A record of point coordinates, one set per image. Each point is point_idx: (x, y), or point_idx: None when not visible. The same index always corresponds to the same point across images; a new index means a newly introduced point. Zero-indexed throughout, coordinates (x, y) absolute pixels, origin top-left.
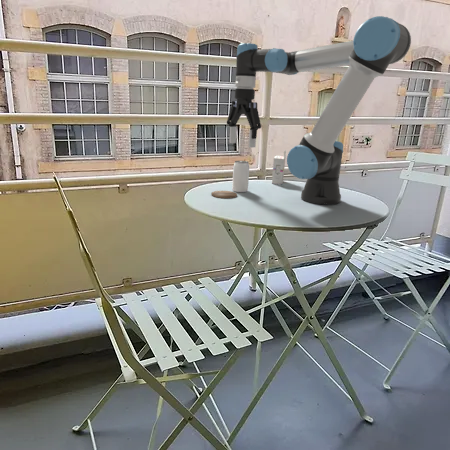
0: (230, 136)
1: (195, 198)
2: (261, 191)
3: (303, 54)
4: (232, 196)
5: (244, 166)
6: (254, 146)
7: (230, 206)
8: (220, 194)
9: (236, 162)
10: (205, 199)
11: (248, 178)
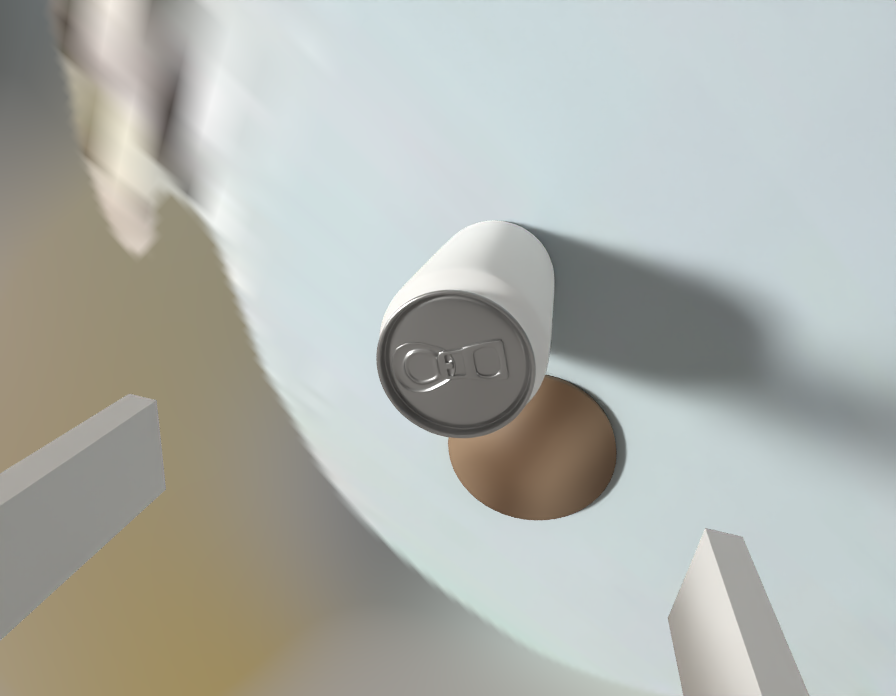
0: (80, 564)
1: (498, 597)
2: (607, 133)
3: None
4: (615, 462)
5: (538, 385)
6: (739, 562)
7: None
8: (532, 482)
9: (453, 437)
10: (544, 578)
11: (541, 272)
